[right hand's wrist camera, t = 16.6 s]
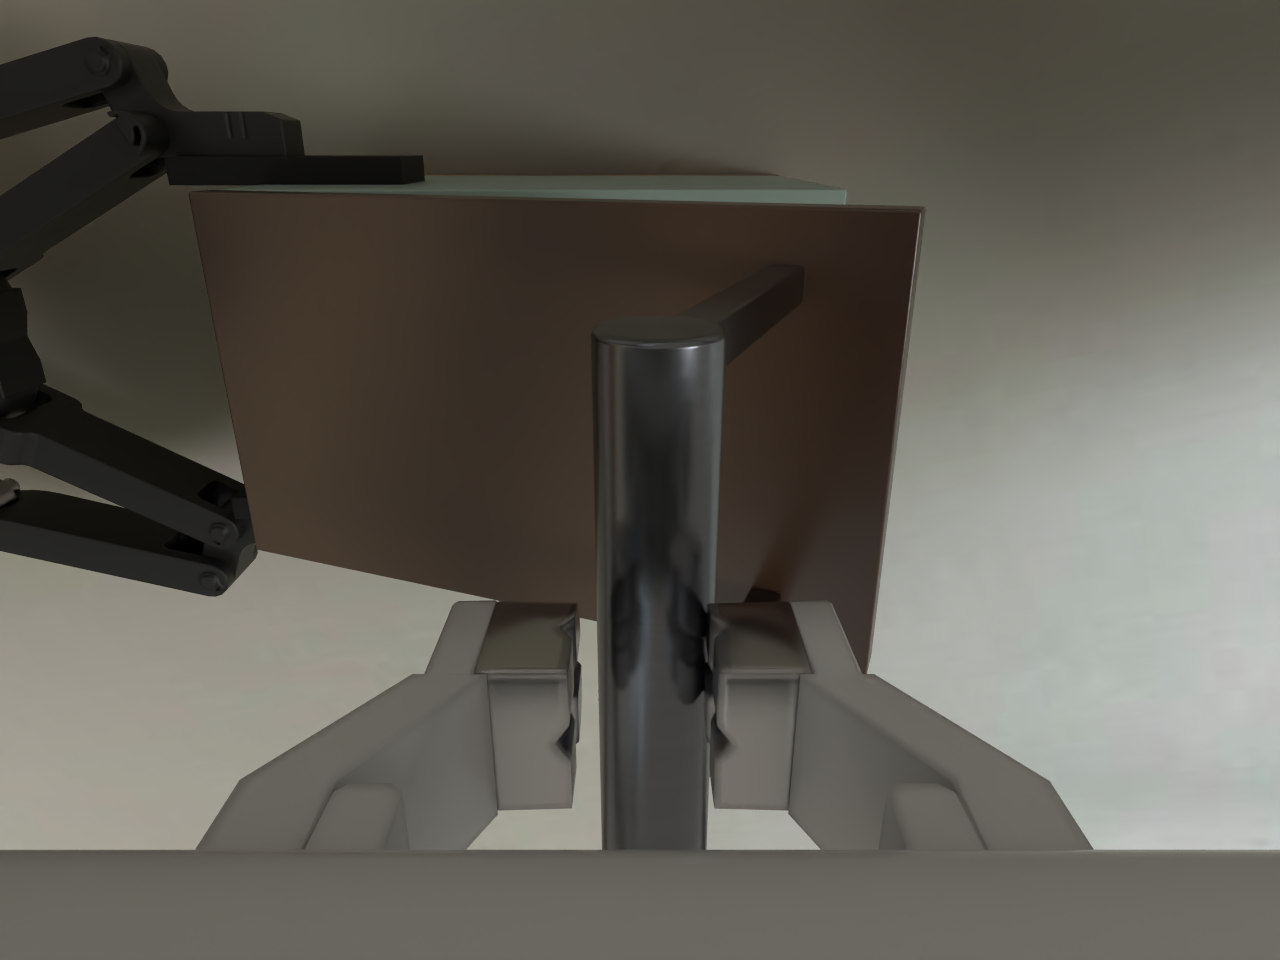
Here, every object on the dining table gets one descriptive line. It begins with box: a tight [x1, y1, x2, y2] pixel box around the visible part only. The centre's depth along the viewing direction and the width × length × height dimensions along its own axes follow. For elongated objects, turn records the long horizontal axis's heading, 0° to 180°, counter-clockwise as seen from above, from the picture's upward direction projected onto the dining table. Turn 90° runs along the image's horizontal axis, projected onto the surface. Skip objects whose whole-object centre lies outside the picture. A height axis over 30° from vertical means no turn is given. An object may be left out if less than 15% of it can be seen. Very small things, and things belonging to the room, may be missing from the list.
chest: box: [216, 175, 847, 205], centre depth 28 cm, size 16×10×11 cm, turn 90°
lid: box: [189, 190, 925, 850], centre depth 16 cm, size 17×10×9 cm, turn 90°
